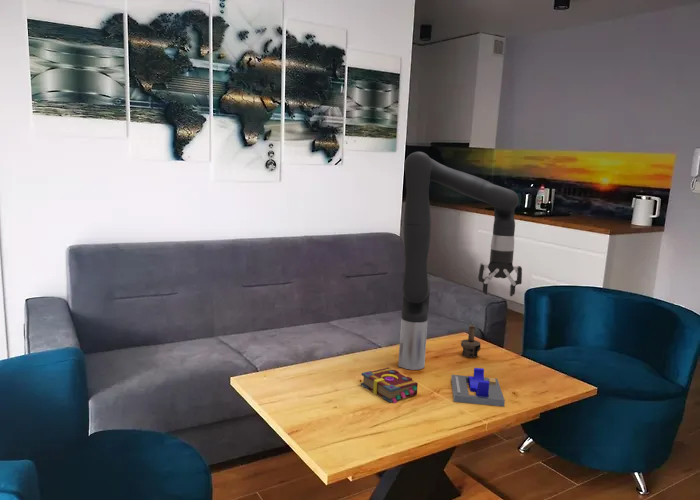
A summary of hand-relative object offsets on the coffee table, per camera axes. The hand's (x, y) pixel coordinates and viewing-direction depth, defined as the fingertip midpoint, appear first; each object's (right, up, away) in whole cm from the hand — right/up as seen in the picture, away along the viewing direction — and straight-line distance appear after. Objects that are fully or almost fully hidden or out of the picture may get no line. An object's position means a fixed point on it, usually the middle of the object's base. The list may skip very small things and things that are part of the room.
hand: (498, 294), depth 189 cm
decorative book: (-38, -30, -14) cm, 50 cm away
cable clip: (-10, -31, -12) cm, 34 cm away
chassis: (-11, -30, -13) cm, 35 cm away
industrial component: (-6, -25, +22) cm, 33 cm away
